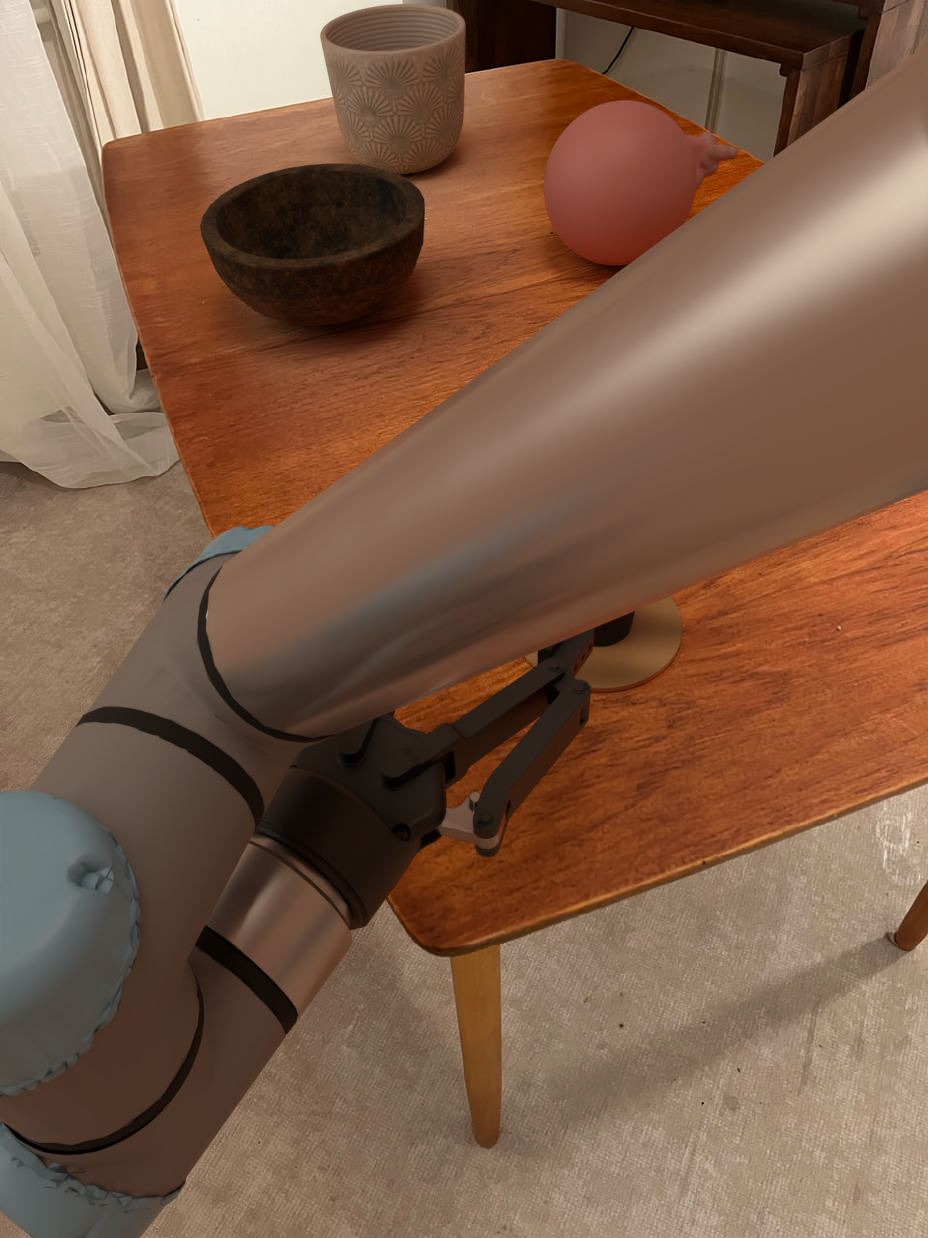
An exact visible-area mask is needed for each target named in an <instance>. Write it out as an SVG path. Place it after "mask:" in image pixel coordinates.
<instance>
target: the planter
mask: <svg viewBox="0 0 928 1238" xmlns="http://www.w3.org/2000/svg"><path fill="white" fill-rule="evenodd" d="M319 38H320V43H321V44H320V45H321V48H322V52H323V58H324V62H325V67H326V72H327V77H328V81H329V87H330V91H331V96H332V101H333V104H334V105H333V106H334V110H335V115H336V119H337V124H338V128H339V131H340V134H341V136H342V139H343V141H344V144H345V145H346V147H347V149H348V150H349V152H350V153H351V155H352V156H353V157H354V158H355V159H356V160H357V161H359V163H361V165H366V166H371V167H376V168H381V169H385V170H387V171H390V172H393V173H396V174H398V175H409V174H415V173H416V174H417V173H420V172H423V171H424V172H425V171H427V170H430V169H432V168H434V167H436V166H438V165H440V164H441V163H442V162H443V161H446V159H447V158H448V157H449V156H450V155H451V153H452V152H453V151H454V149H455V148H456V146H457V144H458V142H459V139H460V136H461V134H462V129H463V124H464V119H465V118H464V116H465V83H466V82H465V81H466V79H465V78H466V21H465V19H464V18H463V16H462V15H461V14H459V13H457V12H456V11H454V10H451V9H448V8H446V7H442V6H437V5H432V4H424V3H423V4H421V3H396V4H395V3H394V4H384V5H383V4H382V5H376V6H371V7H365V8H361V9H357V10H353V11H350V12H347V13H344V14H342V15H340V16H337V17H335V18H333V19H332V20H330V21H329V22H327V23H326V24H325V25H324V26H323V27H322V29H321V30H320V34H319Z"/></svg>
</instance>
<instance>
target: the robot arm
mask: <svg viewBox="0 0 928 1238" xmlns="http://www.w3.org/2000/svg"><path fill="white" fill-rule="evenodd" d="M926 491H928V29H927V31H926V33H925V35H924V36H923V38H922V40H921V41H920V43H919V45H918V46H917V47H916V50H915V51H914V53H913V54H910V56H908V57H907V58H906V59H904V60H903V61H902V62H900V63H899V64H898V65H896V66H895V67H893V68H892V69H890V70H889V71H888V72H886V74H884V75H883V76H881V77H880V78H878V79H877V80H876V81H875V82H874V83H872V84H870V85H869V86H868V87H866V88H865V89H863V90H862V91H861V92H860V93H858V94H857V95H855V96H854V97H852V99H851V100H849V101H847V102H846V103H845V104H843V105H842V106H841V107H839V108H838V109H837V110H836V111H834V112H833V113H831V114H830V115H829V116H827V117H826V118H825V119H823V120H822V121H821V122H819V123H818V124H817V125H815V126H814V127H812V128H811V129H810V130H808V131H807V132H805V133H804V134H803V135H802V136H800V137H799V138H798V139H796V140H795V141H794V142H792V143H791V144H789V145H788V146H787V147H785V148H784V149H782V150H781V151H780V152H779V153H777V154H775V156H773V157H772V158H771V159H769V160H768V161H766V162H765V163H764V164H763V165H761V166H760V167H758V168H757V169H756V170H754V171H753V172H752V173H750V174H749V175H748V176H746V177H745V178H743V179H742V180H741V181H740V182H738V183H737V184H735V185H734V186H732V188H730V189H729V190H727V191H726V192H724V193H723V194H722V195H720V196H719V197H718V198H716V199H715V200H714V201H712V202H711V203H710V204H708V205H707V206H706V207H704V208H703V209H702V210H700V211H699V212H698V213H696V214H695V215H694V216H692V217H691V218H689V219H688V220H686V221H685V223H684V224H683V225H681V226H680V227H679V228H677V229H676V230H675V231H673V232H672V233H671V234H669V235H668V236H667V237H665V238H664V239H662V240H661V241H660V242H658V243H657V244H656V245H654V246H653V247H652V248H650V249H649V250H648V251H646V252H645V253H644V254H642V255H641V256H640V257H638V258H637V259H635V260H634V261H633V262H631V263H630V264H627V265H626V266H625V267H623V268H622V269H620V270H618V272H616V273H615V274H613V276H611V277H610V278H608V279H607V280H606V281H604V282H603V283H601V284H600V285H599V286H597V287H596V288H595V289H594V290H592V291H591V292H589V293H588V294H587V295H586V296H584V297H582V298H581V299H580V300H578V301H577V302H576V303H574V304H573V305H572V306H570V307H569V308H567V310H565V311H564V312H563V313H561V314H560V315H558V316H557V317H556V318H554V319H553V320H551V321H550V322H548V323H547V324H546V325H545V326H544V327H542V328H541V329H540V330H538V331H537V332H535V333H533V335H531V336H530V337H529V338H527V339H526V340H525V341H523V342H522V343H521V344H519V345H518V346H516V347H515V348H513V349H512V350H511V351H510V352H508V353H507V354H505V355H504V356H503V357H502V358H500V359H499V360H498V361H496V362H495V363H494V364H492V365H491V366H489V367H488V368H487V369H485V370H484V371H483V372H481V373H480V374H479V375H477V376H476V377H474V378H473V379H472V380H470V381H469V382H468V383H466V384H465V385H464V386H462V387H461V388H459V390H457V391H456V392H454V393H453V394H452V395H450V396H449V397H448V398H446V399H445V400H444V401H442V402H440V403H439V404H438V405H437V406H435V407H434V408H433V409H431V410H429V412H427V413H426V414H425V415H423V416H422V417H420V418H419V419H418V420H417V421H415V422H414V423H412V424H411V425H409V426H408V427H407V428H406V429H404V430H403V431H402V432H400V433H398V435H396V436H395V437H394V438H392V439H391V440H389V441H388V442H387V443H385V444H384V445H383V446H381V447H380V448H379V449H377V450H376V451H375V452H373V453H372V454H370V455H369V456H368V457H366V458H365V459H364V460H363V461H360V463H358V464H356V465H355V466H354V467H353V468H351V469H350V470H349V471H347V472H345V474H344V475H342V476H341V477H339V478H338V479H336V480H335V481H334V482H333V483H332V484H330V485H328V486H327V487H326V488H325V489H323V490H322V491H321V492H319V493H318V494H316V495H315V496H314V497H312V498H311V499H310V500H308V501H307V502H306V503H305V504H303V505H301V506H300V507H299V508H297V509H296V510H295V511H293V512H292V513H291V514H290V515H288V516H287V517H285V518H284V519H282V520H281V521H280V522H279V523H277V524H276V525H269V524H264V525H259V526H258V527H247V526H243V525H238V526H236V527H232V528H229V529H227V530H225V531H223V532H222V533H220V534H218V535H217V536H216V537H214V538H213V539H212V540H211V541H210V542H209V543H208V544H207V545H206V547H205V548H204V549H203V550H202V552H201V553H200V554H199V555H198V557H196V559H195V560H194V561H192V563H190V564H189V565H188V566H187V567H186V568H185V569H184V570H183V571H182V573H181V574H180V575H178V576H177V578H176V579H174V581H172V583H171V584H170V586H169V587H168V589H167V590H166V592H165V594H164V596H163V600H162V603H161V605H160V607H158V610H157V611H156V612H155V613H154V614H153V616H152V618H151V620H150V621H149V622H148V624H147V625H146V626H145V627H144V629H143V631H142V632H141V634H140V635H139V637H138V638H137V640H136V641H135V642H134V644H133V645H132V647H131V648H130V649H129V651H128V653H126V656H124V659H122V661H121V662H120V664H119V665H118V667H117V668H116V670H115V671H114V673H113V674H112V675H111V677H110V678H109V680H108V681H107V683H106V684H105V685H104V687H103V688H102V689H101V691H100V692H99V694H98V695H97V697H96V698H95V700H94V701H93V703H92V704H91V705H90V706H89V708H88V709H87V711H86V712H85V713H84V714H82V716H81V717H80V719H79V720H78V721H77V723H76V725H75V726H74V727H73V728H71V729H70V730H69V732H68V734H67V736H66V737H65V738H64V739H63V741H62V742H61V743H60V745H59V747H58V748H57V749H56V750H55V752H54V753H53V755H52V756H51V758H50V759H49V760H48V762H47V763H46V764H45V766H44V767H43V768H42V770H41V771H40V773H39V774H38V775H37V776H36V778H35V779H34V781H33V782H32V784H31V785H30V786H29V787H28V789H12V790H11V789H9V790H1V791H0V1212H1V1213H2V1214H3V1215H4V1216H5V1217H6V1218H8V1219H9V1220H10V1222H12V1223H13V1224H15V1226H17V1227H18V1228H20V1229H21V1231H23V1232H25V1233H26V1234H27V1235H28V1236H30V1237H31V1238H141V1237H142V1236H143V1235H144V1233H145V1232H146V1231H147V1230H148V1228H149V1227H150V1226H151V1225H152V1223H153V1222H154V1221H155V1220H156V1219H157V1217H159V1215H160V1214H161V1212H162V1211H163V1210H164V1209H165V1208H166V1206H167V1205H169V1204H171V1203H172V1202H173V1201H174V1200H176V1199H177V1198H178V1196H179V1195H180V1193H181V1191H182V1189H183V1188H184V1187H185V1186H186V1183H187V1177H188V1176H189V1175H190V1174H191V1172H192V1171H193V1169H194V1167H196V1165H197V1164H198V1162H199V1160H200V1159H201V1157H202V1156H203V1155H204V1154H205V1152H206V1150H208V1148H209V1146H210V1145H211V1143H213V1141H214V1139H215V1137H216V1136H217V1135H218V1134H219V1132H220V1131H221V1129H222V1128H223V1126H225V1124H226V1122H227V1121H228V1119H229V1118H230V1116H231V1115H232V1114H233V1112H234V1111H235V1110H236V1108H237V1107H238V1105H239V1104H240V1103H241V1101H242V1100H243V1098H244V1097H245V1095H246V1094H247V1093H248V1091H249V1090H250V1088H251V1087H252V1085H253V1084H254V1083H255V1082H256V1079H257V1078H258V1077H259V1076H260V1074H261V1073H262V1071H263V1070H264V1068H265V1067H266V1066H267V1064H268V1063H269V1061H270V1060H271V1058H272V1057H273V1056H274V1054H275V1053H276V1052H277V1050H278V1049H279V1047H280V1046H281V1044H282V1043H283V1042H284V1040H285V1039H286V1037H287V1035H288V1034H289V1033H290V1032H291V1030H292V1029H293V1028H294V1026H295V1025H296V1023H297V1022H298V1021H299V1020H300V1018H301V1017H302V1016H303V1014H304V1012H305V1011H306V1010H307V1009H308V1007H309V1006H310V1005H311V1004H312V1002H313V1000H314V999H315V998H316V997H317V995H318V993H319V992H320V991H321V989H322V987H323V986H324V985H325V984H326V982H327V981H328V979H329V978H330V976H331V975H332V974H333V973H334V971H335V969H336V968H337V967H338V966H339V964H340V963H341V961H342V960H343V958H344V957H345V956H346V955H347V953H348V952H349V950H350V949H351V947H352V945H353V935H352V932H351V931H356V930H358V929H362V928H365V927H367V926H368V925H369V923H370V922H371V921H372V919H373V918H374V916H376V913H377V912H378V911H379V910H380V908H381V906H382V905H384V902H386V900H387V898H388V897H389V895H390V894H391V893H392V891H393V890H394V889H395V887H396V885H397V884H398V883H399V882H400V880H401V879H402V877H403V876H404V875H405V873H406V872H407V870H408V869H409V867H410V865H411V863H412V862H413V861H414V859H415V857H416V856H417V855H418V853H420V852H421V851H422V850H423V849H425V848H427V847H428V846H430V845H432V844H435V843H436V842H437V841H439V840H440V839H441V838H442V837H447V838H451V839H454V840H459V841H463V842H467V843H471V844H474V849H475V852H476V853H477V854H478V855H479V856H481V857H483V858H491V857H494V856H496V855H497V854H498V853H499V851H500V849H501V847H502V843H503V840H504V837H505V835H506V831H507V828H508V826H509V825H508V824H509V821H510V819H511V817H512V816H513V815H514V814H515V812H516V811H518V809H519V808H520V807H521V805H522V804H523V803H524V802H525V800H526V799H527V798H528V796H529V795H530V794H531V793H532V792H533V790H534V789H535V788H536V787H537V786H538V784H539V783H540V782H541V781H542V779H543V778H544V777H545V775H547V773H549V771H550V769H551V768H552V767H553V766H554V765H555V763H556V762H557V761H558V760H559V758H560V757H562V755H563V753H564V752H565V751H566V750H567V749H568V747H569V746H571V744H572V742H573V741H574V740H575V739H576V738H577V736H578V735H579V733H580V732H581V731H582V730H583V729H584V728H585V726H586V725H587V724H588V723H589V720H590V710H591V697H592V692H591V686H590V685H589V683H588V682H586V681H584V680H581V679H576V678H575V676H576V674H577V673H578V672H579V670H580V669H581V667H582V666H583V664H584V663H585V662H586V660H587V658H588V657H589V656H590V654H591V653H592V651H593V642H594V628H595V627H597V626H599V625H602V624H604V623H607V622H609V621H611V620H614V619H616V618H619V617H621V616H624V615H626V614H628V613H631V612H633V611H636V610H638V609H640V608H643V607H645V606H648V605H650V604H653V603H655V602H657V601H660V600H662V599H665V598H667V597H669V596H671V597H672V596H674V595H676V594H679V593H682V592H684V591H687V590H689V589H691V588H693V587H696V586H699V585H701V584H703V583H705V582H708V581H710V580H713V579H715V578H718V577H720V576H723V575H725V574H728V573H730V572H733V571H735V570H737V569H740V568H742V567H744V566H746V565H749V564H751V563H754V562H756V561H759V560H761V559H764V558H767V557H768V556H771V555H773V554H775V553H778V552H780V551H783V550H785V549H788V548H790V547H793V546H796V545H797V544H800V543H802V542H805V541H807V540H810V539H812V538H815V537H818V536H819V535H822V534H824V533H827V532H829V531H831V530H835V529H836V528H838V527H842V526H844V525H846V524H849V523H851V522H853V521H856V520H858V519H861V518H863V517H865V516H868V515H870V514H872V513H875V512H877V511H880V510H882V509H885V508H888V507H889V506H892V505H894V504H896V503H900V502H902V501H904V500H906V499H909V498H911V497H914V496H917V495H918V494H921V493H923V492H926ZM536 651H538V665H537V666H535V667H534V668H533V667H532V668H531V669H530V670H528V671H526V672H525V673H524V674H522V675H521V676H519V677H517V678H516V679H515V680H513V681H512V682H511V683H509V684H507V685H505V687H503V688H502V689H500V690H499V691H497V692H496V693H494V694H493V695H491V696H490V697H488V698H487V699H485V700H484V701H482V702H481V703H480V704H478V705H477V706H475V707H474V708H472V709H471V710H469V711H468V712H466V713H465V714H464V715H462V716H461V717H459V718H458V719H456V720H455V721H454V722H449V721H445V722H442V723H441V724H439V725H438V726H437V727H435V728H433V729H432V730H431V731H429V732H428V733H427V732H424V731H423V730H421V729H415V728H411V727H406V726H405V725H404V724H403V723H401V722H400V721H399V720H398V719H397V718H396V717H394V716H395V713H396V710H399V709H401V708H404V707H406V706H408V705H411V704H414V703H416V702H418V701H420V700H422V699H425V698H428V697H430V696H433V695H434V694H437V693H439V692H442V691H444V690H447V689H449V688H452V687H454V686H457V685H459V684H461V683H464V682H466V681H469V680H471V679H474V678H476V677H478V676H481V675H483V674H486V673H488V672H491V671H493V670H495V669H497V668H500V667H502V666H505V665H507V664H509V663H512V662H514V661H517V660H520V659H522V658H524V656H527V655H529V654H532V653H534V652H536ZM532 723H533V724H532ZM530 724H532V726H531V727H530V728H529V729H528V730H527V732H526V733H525V734H524V735H523V736H522V737H521V739H520V740H519V741H518V742H517V743H516V745H515V746H514V747H513V748H512V749H511V750H510V752H509V753H508V754H507V755H506V756H505V757H504V758H503V760H502V761H500V763H499V764H498V765H497V766H496V768H495V769H494V770H493V771H492V773H491V774H490V775H489V777H488V778H487V780H486V782H485V783H484V785H483V787H482V790H481V792H479V791H472V792H470V793H469V795H468V796H466V797H465V799H464V800H463V802H462V803H460V804H459V805H458V806H454V807H448V801H447V790H448V789H449V788H450V787H452V786H453V785H455V784H457V783H458V782H459V781H460V780H462V779H463V778H464V777H465V776H466V775H467V773H468V771H469V769H470V768H471V767H472V766H473V765H474V764H476V763H477V762H479V761H480V760H482V759H483V758H484V757H486V756H487V755H488V754H490V753H491V752H493V751H494V750H495V749H497V748H499V747H500V746H501V745H502V744H504V743H506V742H507V741H508V740H510V739H511V738H512V737H514V736H515V735H516V734H518V733H519V732H521V731H522V730H524V729H525V728H527V727H528V726H529V725H530Z"/></svg>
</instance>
